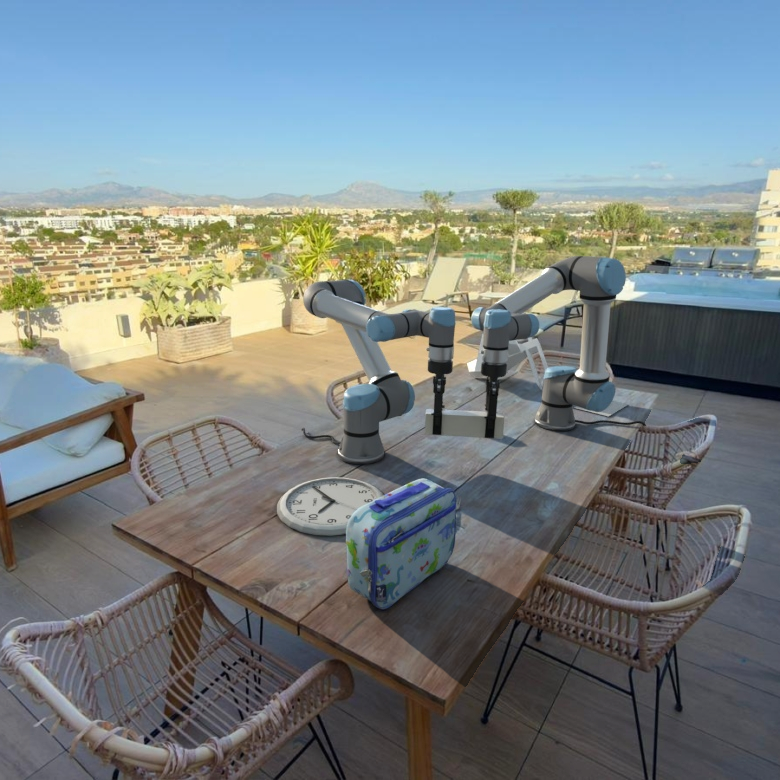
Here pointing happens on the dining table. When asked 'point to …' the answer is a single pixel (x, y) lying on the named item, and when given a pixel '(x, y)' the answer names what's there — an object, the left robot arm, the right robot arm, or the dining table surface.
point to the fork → (458, 504)
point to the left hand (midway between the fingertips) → (437, 431)
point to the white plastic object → (513, 357)
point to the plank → (464, 423)
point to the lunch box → (400, 540)
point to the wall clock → (324, 504)
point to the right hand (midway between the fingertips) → (488, 434)
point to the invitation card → (607, 409)
